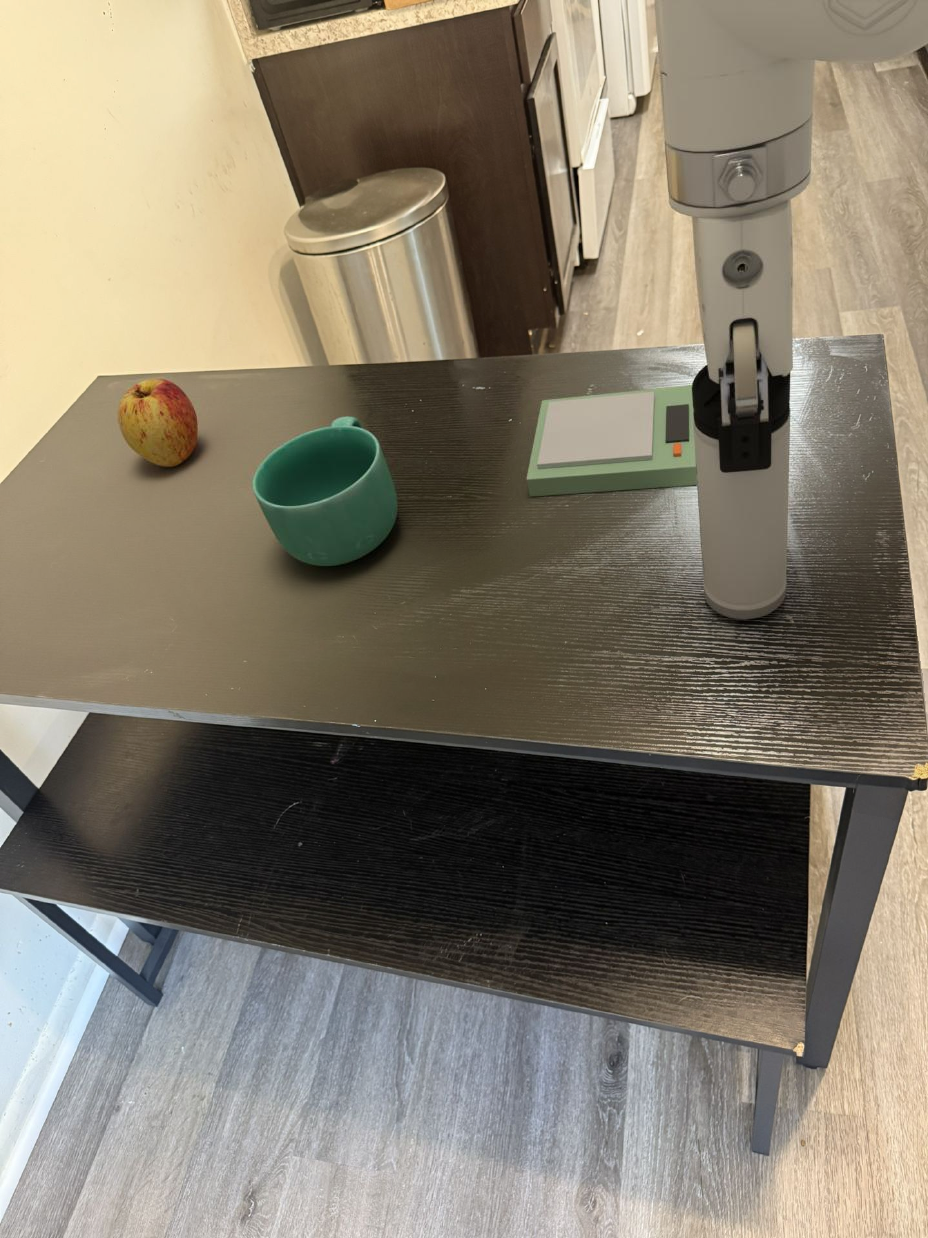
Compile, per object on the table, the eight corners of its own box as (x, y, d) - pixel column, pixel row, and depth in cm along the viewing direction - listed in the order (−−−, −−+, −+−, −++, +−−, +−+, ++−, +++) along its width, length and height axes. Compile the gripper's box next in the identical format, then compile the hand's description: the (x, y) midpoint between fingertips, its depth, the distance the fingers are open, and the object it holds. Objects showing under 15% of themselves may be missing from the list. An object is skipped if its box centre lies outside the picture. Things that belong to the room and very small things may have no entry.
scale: (695, 402, 91) (694, 378, 89) (697, 485, 81) (695, 460, 79) (544, 417, 95) (540, 395, 93) (529, 497, 86) (524, 474, 84)
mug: (382, 585, 81) (351, 506, 75) (267, 582, 85) (228, 507, 79) (433, 477, 92) (410, 399, 85) (329, 478, 96) (299, 405, 90)
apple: (221, 456, 105) (184, 383, 98) (151, 489, 103) (109, 417, 96) (201, 427, 111) (165, 357, 104) (135, 458, 109) (95, 388, 102)
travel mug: (803, 579, 69) (813, 352, 55) (760, 631, 66) (759, 406, 53) (732, 555, 73) (725, 337, 59) (689, 603, 70) (671, 386, 57)
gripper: (829, 212, 40) (814, 513, 52) (796, 97, 52) (790, 365, 64) (664, 239, 42) (686, 522, 55) (668, 123, 54) (686, 377, 66)
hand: (742, 435), depth 59 cm, fingers closed on travel mug, 6 cm apart
